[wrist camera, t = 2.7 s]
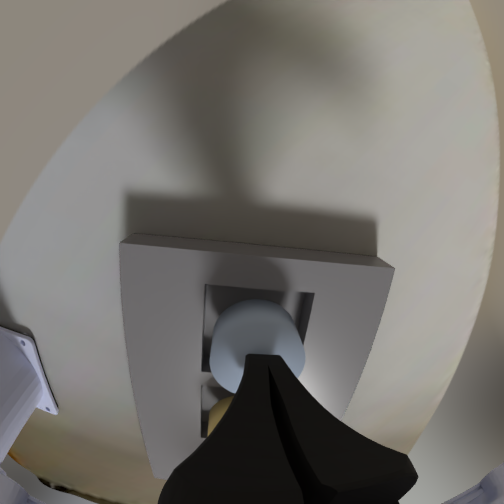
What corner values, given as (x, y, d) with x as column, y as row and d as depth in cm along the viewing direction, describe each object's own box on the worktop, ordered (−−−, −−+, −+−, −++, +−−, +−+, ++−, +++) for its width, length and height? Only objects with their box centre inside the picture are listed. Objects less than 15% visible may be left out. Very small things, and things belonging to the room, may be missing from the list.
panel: (157, 460, 19) (154, 477, 17) (133, 233, 14) (119, 242, 12) (303, 467, 20) (307, 483, 18) (377, 256, 15) (395, 268, 13)
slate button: (211, 365, 14) (208, 394, 12) (215, 295, 13) (211, 319, 11) (288, 369, 14) (295, 397, 12) (302, 301, 13) (314, 325, 11)
